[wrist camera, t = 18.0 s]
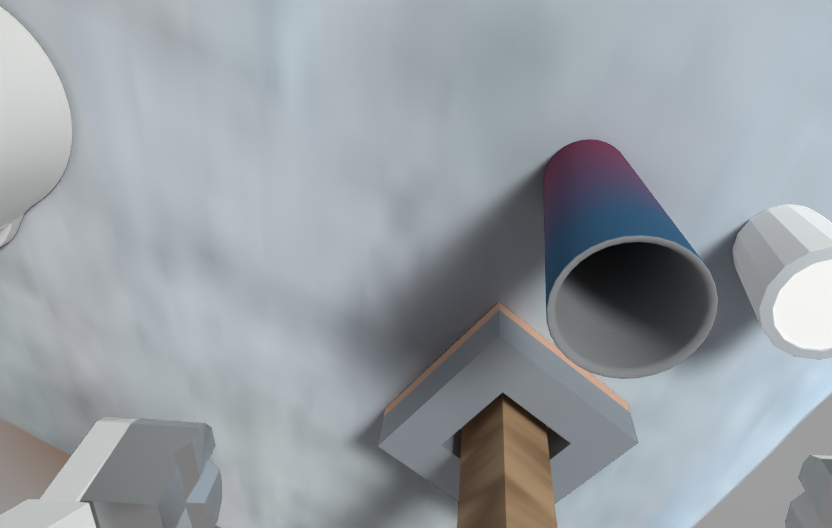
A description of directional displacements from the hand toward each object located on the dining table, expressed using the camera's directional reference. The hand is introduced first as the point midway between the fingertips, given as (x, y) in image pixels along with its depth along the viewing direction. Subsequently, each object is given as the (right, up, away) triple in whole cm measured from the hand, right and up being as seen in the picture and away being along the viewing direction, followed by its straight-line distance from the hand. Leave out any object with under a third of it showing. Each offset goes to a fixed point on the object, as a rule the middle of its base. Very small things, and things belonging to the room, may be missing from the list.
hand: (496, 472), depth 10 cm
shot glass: (+21, +4, +34) cm, 40 cm away
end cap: (+5, -7, +41) cm, 42 cm away
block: (+5, -8, +40) cm, 41 cm away
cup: (+9, +8, +33) cm, 35 cm away
